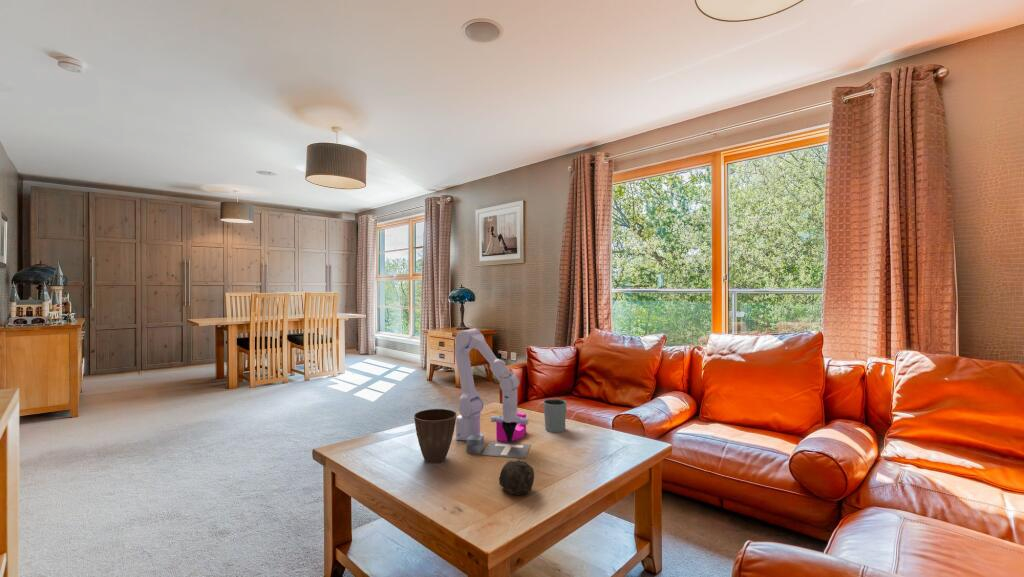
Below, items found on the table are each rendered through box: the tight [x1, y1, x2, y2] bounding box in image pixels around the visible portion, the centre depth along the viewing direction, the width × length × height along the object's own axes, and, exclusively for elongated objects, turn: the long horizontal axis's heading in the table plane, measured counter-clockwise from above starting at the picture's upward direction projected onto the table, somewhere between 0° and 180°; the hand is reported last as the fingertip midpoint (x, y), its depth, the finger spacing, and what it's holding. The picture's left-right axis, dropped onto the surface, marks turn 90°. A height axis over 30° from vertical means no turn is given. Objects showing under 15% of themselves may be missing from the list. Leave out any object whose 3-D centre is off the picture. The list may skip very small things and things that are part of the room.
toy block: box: [495, 412, 527, 443], centre depth 182 cm, size 15×6×8 cm, turn 142°
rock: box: [498, 459, 535, 496], centre depth 134 cm, size 10×11×10 cm
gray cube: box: [466, 435, 484, 455], centre depth 167 cm, size 5×5×5 cm
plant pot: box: [413, 408, 457, 464], centre depth 158 cm, size 15×15×16 cm
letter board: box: [480, 441, 532, 460], centre depth 167 cm, size 16×14×1 cm
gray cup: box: [542, 398, 567, 434], centre depth 192 cm, size 10×10×12 cm
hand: (509, 441), depth 172 cm, fingers closed
